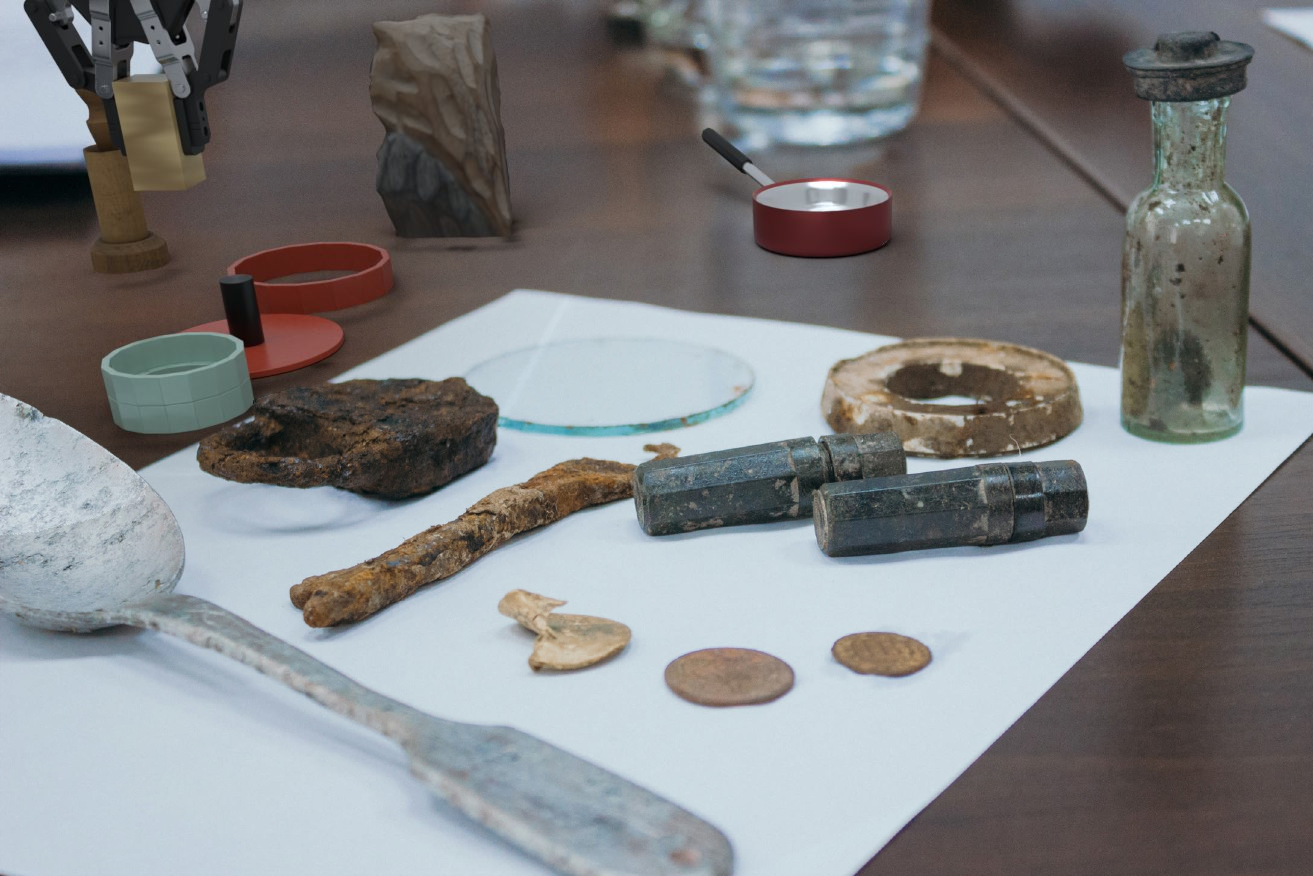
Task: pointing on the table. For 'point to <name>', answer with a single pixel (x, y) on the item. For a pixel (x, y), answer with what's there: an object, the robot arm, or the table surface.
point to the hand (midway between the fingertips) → (163, 152)
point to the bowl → (178, 382)
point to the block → (154, 135)
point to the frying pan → (813, 210)
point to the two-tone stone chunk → (440, 127)
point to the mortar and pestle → (117, 203)
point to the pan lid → (271, 331)
